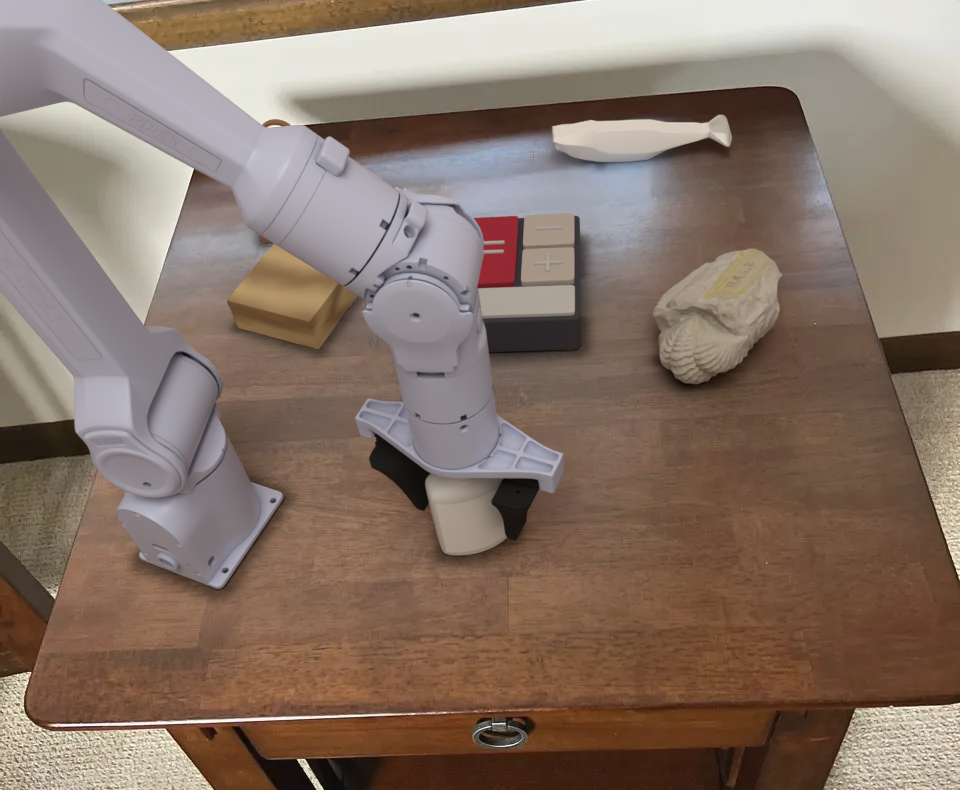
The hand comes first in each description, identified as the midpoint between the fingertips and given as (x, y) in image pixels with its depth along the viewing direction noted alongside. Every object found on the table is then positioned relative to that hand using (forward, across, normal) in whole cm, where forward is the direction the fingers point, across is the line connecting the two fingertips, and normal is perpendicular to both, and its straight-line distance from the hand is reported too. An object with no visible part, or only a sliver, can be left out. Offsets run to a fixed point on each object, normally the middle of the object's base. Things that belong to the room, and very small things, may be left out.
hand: (470, 514), depth 68 cm
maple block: (+3, +26, -18) cm, 32 cm away
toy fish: (+3, +4, -50) cm, 50 cm away
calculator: (+3, +7, -26) cm, 27 cm away
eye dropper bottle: (+3, 0, 0) cm, 3 cm away
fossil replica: (+3, -11, -25) cm, 27 cm away
